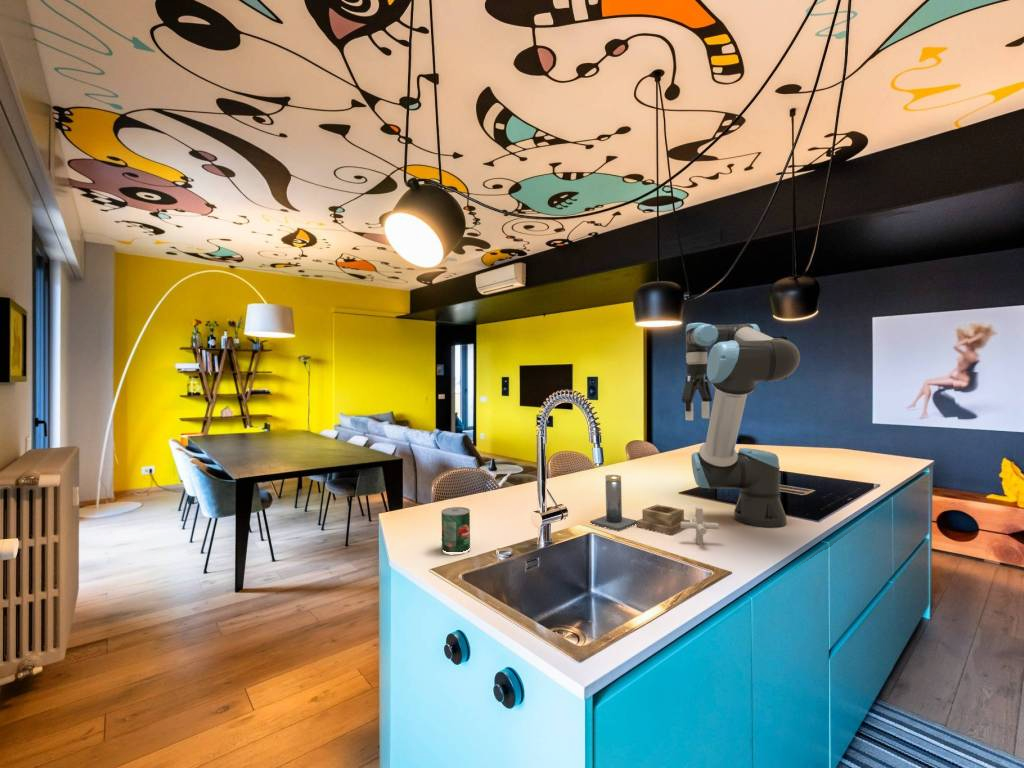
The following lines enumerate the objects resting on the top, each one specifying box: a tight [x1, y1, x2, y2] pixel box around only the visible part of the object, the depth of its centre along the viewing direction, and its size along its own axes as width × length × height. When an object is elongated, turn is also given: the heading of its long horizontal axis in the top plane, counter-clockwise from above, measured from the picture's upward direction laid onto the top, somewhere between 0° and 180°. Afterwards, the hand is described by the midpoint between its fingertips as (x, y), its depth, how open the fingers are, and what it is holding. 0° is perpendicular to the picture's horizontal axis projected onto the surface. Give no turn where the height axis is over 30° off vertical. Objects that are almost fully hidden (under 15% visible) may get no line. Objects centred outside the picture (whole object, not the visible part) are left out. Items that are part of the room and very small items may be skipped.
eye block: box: [635, 504, 691, 536], centre depth 147 cm, size 12×12×6 cm
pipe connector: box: [680, 507, 720, 545], centre depth 132 cm, size 10×10×10 cm
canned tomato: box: [440, 506, 471, 552], centre depth 129 cm, size 8×8×11 cm
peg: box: [604, 474, 623, 523], centre depth 151 cm, size 5×5×14 cm
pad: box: [589, 515, 637, 532], centre depth 151 cm, size 11×11×1 cm
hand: (697, 419), depth 178 cm, fingers open, 13 cm apart
